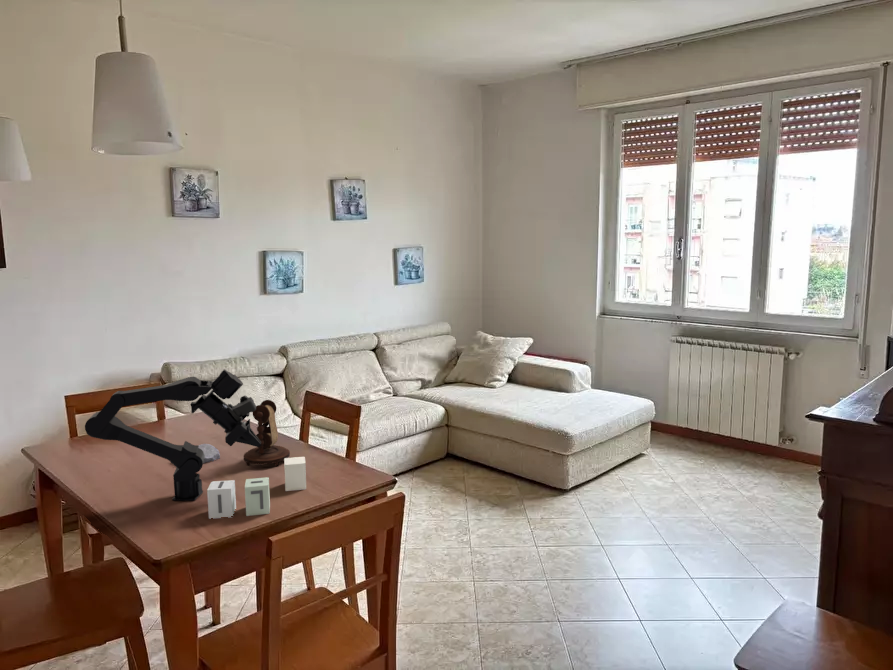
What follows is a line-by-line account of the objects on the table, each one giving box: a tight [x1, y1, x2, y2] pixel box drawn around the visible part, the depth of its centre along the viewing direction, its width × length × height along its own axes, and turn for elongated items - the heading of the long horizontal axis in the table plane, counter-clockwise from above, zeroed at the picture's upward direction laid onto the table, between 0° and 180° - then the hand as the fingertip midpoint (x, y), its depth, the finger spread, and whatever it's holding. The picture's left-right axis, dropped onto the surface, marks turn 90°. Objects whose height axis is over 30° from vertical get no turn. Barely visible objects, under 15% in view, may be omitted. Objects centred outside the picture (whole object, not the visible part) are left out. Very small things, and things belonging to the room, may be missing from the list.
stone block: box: [198, 443, 221, 464], centre depth 214 cm, size 12×5×10 cm
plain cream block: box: [283, 456, 307, 492], centre depth 191 cm, size 6×6×8 cm
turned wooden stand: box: [243, 399, 291, 467], centre depth 212 cm, size 15×15×20 cm
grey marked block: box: [206, 479, 237, 520], centre depth 172 cm, size 6×6×8 cm
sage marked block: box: [244, 476, 271, 517], centre depth 174 cm, size 6×6×8 cm
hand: (260, 444), depth 187 cm, fingers closed
